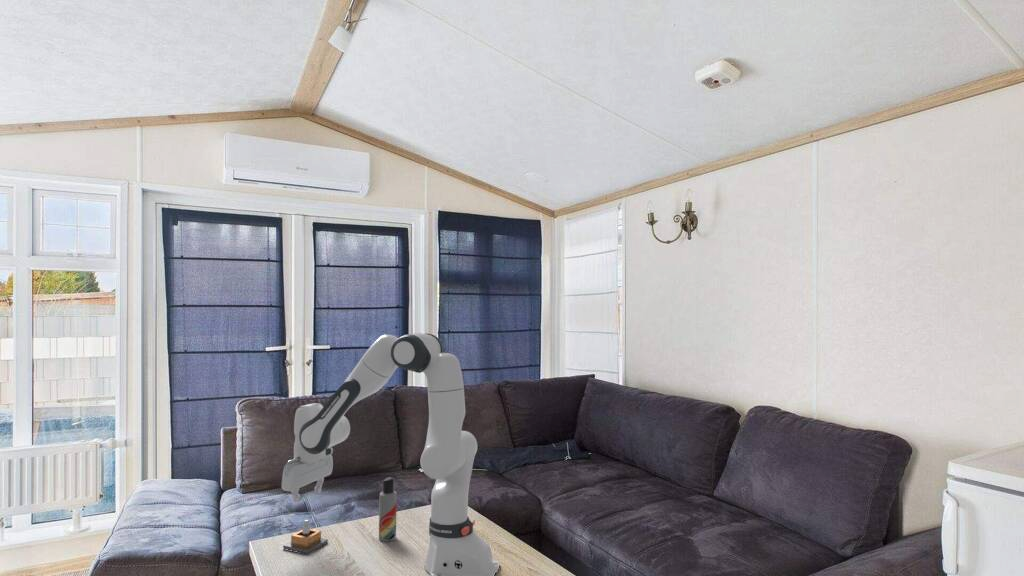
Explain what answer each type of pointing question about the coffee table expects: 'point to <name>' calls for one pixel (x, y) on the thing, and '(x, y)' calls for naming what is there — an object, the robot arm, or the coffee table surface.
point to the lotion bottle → (387, 511)
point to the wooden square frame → (306, 538)
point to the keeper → (306, 533)
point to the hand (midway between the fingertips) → (307, 496)
